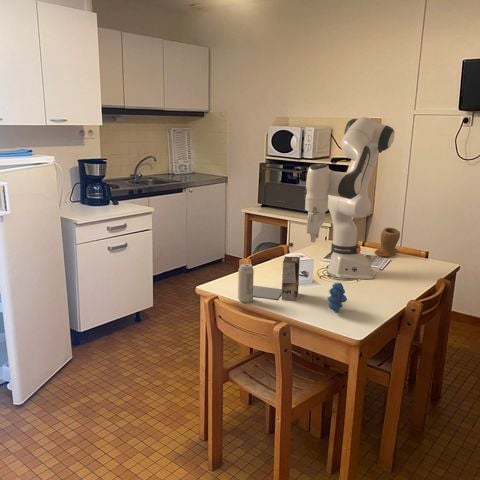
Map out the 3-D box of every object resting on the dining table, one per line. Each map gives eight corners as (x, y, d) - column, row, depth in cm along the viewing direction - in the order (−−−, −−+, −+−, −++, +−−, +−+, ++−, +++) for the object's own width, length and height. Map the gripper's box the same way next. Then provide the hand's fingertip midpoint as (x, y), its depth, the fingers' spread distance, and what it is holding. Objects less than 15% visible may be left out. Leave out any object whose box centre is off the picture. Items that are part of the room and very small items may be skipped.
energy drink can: (244, 296, 200) (244, 262, 196) (255, 300, 196) (256, 265, 192) (235, 300, 195) (235, 265, 191) (246, 304, 191) (247, 268, 188)
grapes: (339, 319, 179) (341, 288, 176) (323, 314, 183) (324, 284, 180) (352, 309, 188) (354, 280, 185) (336, 305, 192) (338, 276, 189)
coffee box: (296, 300, 196) (298, 263, 192) (281, 299, 197) (282, 261, 193) (298, 293, 205) (300, 256, 200) (283, 291, 206) (284, 255, 202)
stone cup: (392, 260, 253) (394, 232, 249) (371, 255, 261) (373, 228, 257) (404, 254, 264) (406, 227, 260) (383, 250, 272) (386, 224, 268)
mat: (283, 290, 208) (283, 289, 207) (277, 300, 197) (277, 299, 196) (248, 285, 212) (248, 284, 212) (240, 295, 201) (240, 294, 201)
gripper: (320, 211, 178) (318, 247, 181) (328, 202, 197) (326, 234, 200) (303, 209, 180) (301, 245, 183) (312, 201, 199) (311, 233, 202)
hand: (314, 239), depth 192 cm, fingers open, 5 cm apart
